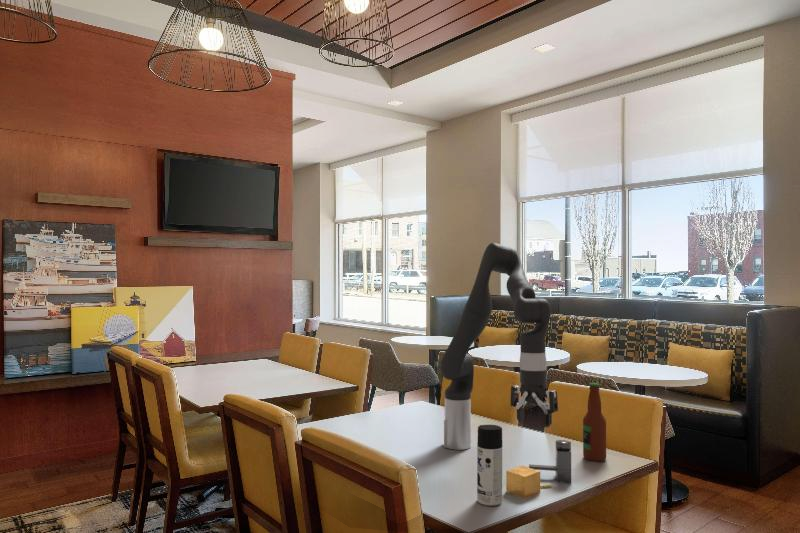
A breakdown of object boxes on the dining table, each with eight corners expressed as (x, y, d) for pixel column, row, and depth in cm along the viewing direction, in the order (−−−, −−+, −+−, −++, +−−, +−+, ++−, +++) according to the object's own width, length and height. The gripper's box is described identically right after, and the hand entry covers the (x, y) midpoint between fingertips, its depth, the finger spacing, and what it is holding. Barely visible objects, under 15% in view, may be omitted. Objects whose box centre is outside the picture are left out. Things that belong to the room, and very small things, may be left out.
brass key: (533, 489, 164) (533, 487, 164) (530, 486, 166) (530, 484, 166) (552, 488, 165) (552, 486, 165) (549, 485, 167) (549, 483, 167)
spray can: (474, 497, 158) (474, 424, 158) (499, 496, 158) (498, 423, 159) (480, 507, 151) (480, 430, 152) (505, 506, 152) (505, 430, 152)
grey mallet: (529, 480, 171) (529, 442, 172) (528, 473, 177) (528, 437, 178) (572, 482, 169) (571, 445, 169) (569, 476, 175) (569, 439, 175)
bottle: (589, 454, 197) (589, 380, 197) (610, 458, 192) (609, 383, 192) (579, 458, 192) (578, 383, 192) (599, 463, 187) (599, 386, 187)
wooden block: (524, 498, 157) (524, 476, 157) (506, 492, 162) (506, 470, 162) (540, 492, 162) (540, 471, 162) (522, 486, 167) (522, 465, 167)
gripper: (562, 368, 164) (563, 426, 164) (519, 364, 174) (520, 418, 174) (548, 371, 159) (549, 431, 158) (504, 366, 169) (505, 422, 168)
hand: (534, 424), depth 166 cm, fingers open, 8 cm apart
